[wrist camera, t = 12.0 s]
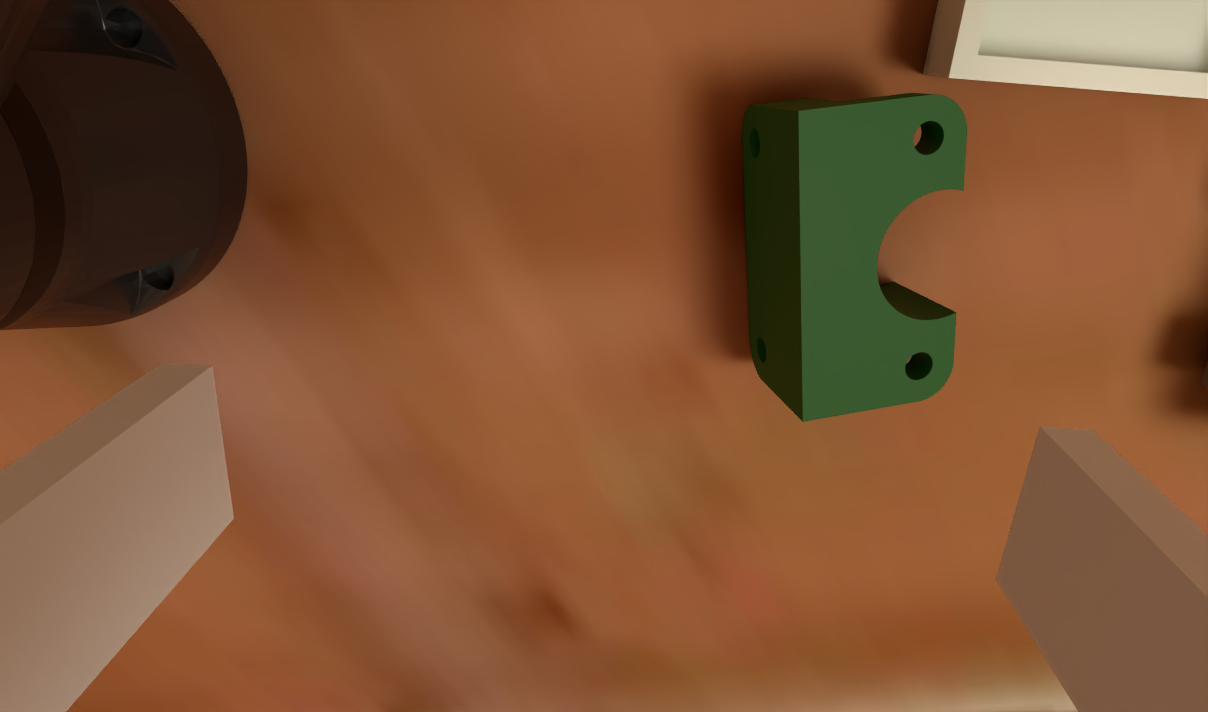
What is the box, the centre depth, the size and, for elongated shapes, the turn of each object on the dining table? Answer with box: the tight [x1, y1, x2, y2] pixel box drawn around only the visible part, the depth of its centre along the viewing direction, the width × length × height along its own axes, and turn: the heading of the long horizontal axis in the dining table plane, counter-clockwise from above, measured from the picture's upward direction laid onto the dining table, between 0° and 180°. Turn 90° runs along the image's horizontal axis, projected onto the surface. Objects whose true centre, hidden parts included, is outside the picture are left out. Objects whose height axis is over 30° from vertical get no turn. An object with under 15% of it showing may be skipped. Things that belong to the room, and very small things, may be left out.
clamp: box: [742, 93, 967, 422], centre depth 31 cm, size 12×6×9 cm, turn 0°
